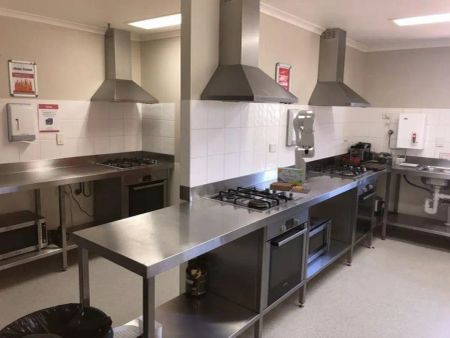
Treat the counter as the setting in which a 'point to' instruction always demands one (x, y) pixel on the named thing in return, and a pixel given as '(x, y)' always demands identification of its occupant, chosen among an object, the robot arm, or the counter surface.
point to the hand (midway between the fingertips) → (306, 154)
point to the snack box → (290, 176)
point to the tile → (298, 188)
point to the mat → (302, 191)
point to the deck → (281, 186)
